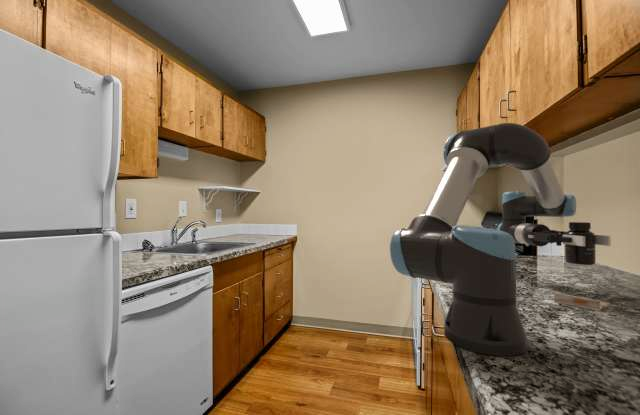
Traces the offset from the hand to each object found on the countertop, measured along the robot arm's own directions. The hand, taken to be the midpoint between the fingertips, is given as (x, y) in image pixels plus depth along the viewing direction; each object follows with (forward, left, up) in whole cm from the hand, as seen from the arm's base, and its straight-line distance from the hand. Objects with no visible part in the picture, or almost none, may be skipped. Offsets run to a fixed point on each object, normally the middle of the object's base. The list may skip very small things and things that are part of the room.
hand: (596, 241), depth 84 cm
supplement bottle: (+3, +4, -7) cm, 9 cm away
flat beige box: (+2, +4, -18) cm, 19 cm away
